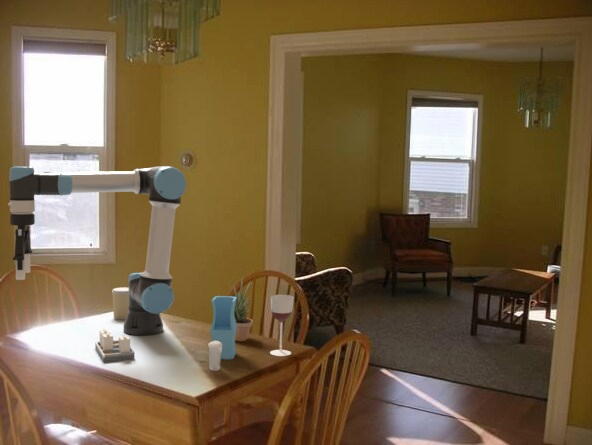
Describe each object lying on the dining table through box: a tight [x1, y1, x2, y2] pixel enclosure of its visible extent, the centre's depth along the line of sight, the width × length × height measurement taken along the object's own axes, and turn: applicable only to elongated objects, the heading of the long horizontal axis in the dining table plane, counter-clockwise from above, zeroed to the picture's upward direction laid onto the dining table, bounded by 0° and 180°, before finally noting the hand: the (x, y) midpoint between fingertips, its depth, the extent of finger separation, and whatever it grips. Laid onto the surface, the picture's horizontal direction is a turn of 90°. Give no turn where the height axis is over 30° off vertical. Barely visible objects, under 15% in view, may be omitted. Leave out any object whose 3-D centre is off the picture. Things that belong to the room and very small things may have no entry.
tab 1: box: [99, 328, 111, 346], centre depth 216 cm, size 3×4×5 cm
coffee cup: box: [111, 286, 129, 320], centre depth 265 cm, size 9×9×12 cm
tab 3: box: [118, 334, 131, 353], centre depth 209 cm, size 3×4×5 cm
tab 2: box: [102, 333, 114, 350], centre depth 211 cm, size 3×4×5 cm
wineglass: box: [269, 294, 295, 357], centre depth 219 cm, size 8×9×20 cm
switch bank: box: [94, 339, 135, 363], centre depth 213 cm, size 10×17×2 cm, turn 26°
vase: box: [209, 295, 237, 360], centre depth 214 cm, size 8×8×20 cm
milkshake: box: [205, 339, 222, 372], centre depth 199 cm, size 4×5×10 cm
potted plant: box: [230, 277, 254, 342], centre depth 236 cm, size 10×10×25 cm
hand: (23, 276), depth 209 cm, fingers open, 13 cm apart
